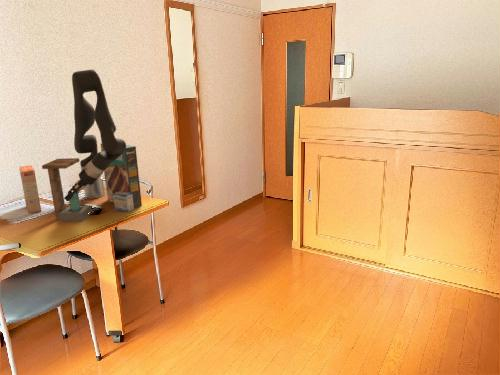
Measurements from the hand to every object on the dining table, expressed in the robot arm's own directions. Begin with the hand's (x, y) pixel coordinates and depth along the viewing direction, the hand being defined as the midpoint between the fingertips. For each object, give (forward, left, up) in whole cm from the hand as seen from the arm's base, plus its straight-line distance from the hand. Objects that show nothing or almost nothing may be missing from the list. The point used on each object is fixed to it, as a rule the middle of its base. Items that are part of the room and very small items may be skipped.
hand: (70, 196), depth 179 cm
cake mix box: (-26, +5, -10) cm, 29 cm away
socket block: (-1, +1, -10) cm, 10 cm away
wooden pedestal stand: (+1, -1, -10) cm, 10 cm away
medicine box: (-19, +13, -10) cm, 25 cm away
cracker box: (+1, -29, -10) cm, 31 cm away
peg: (-1, +1, -10) cm, 10 cm away
